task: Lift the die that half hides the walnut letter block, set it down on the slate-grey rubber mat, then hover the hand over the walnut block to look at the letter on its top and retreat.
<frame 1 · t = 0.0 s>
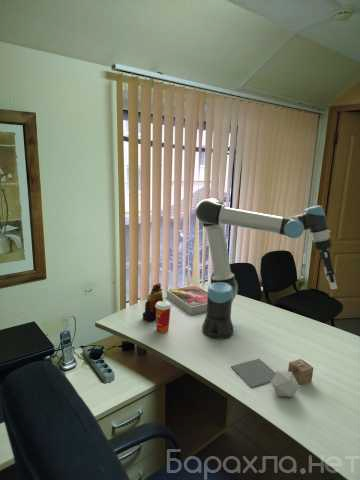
hand: (331, 284, 136), 28 cm above the table, tool tilted 20°, fingers open, 13 cm apart
letter block: (299, 379, 112), on the table
product packaging: (193, 303, 180), on the table
grey mat: (255, 372, 115), on the table
die: (283, 394, 104), on the table
paper cup: (162, 331, 144), on the table
statue: (151, 318, 156), on the table
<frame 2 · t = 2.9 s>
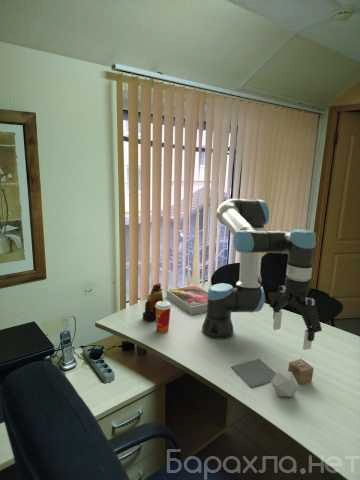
hand: (290, 338, 100), 21 cm above the table, tool pointing down, fingers open, 13 cm apart
nothing on the table moved.
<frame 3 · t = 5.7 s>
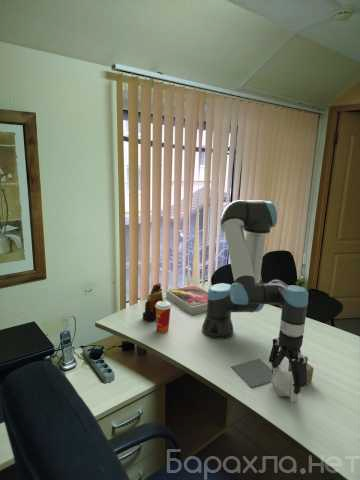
hand: (284, 391, 104), 1 cm above the table, tool pointing down, fingers closed on die, 8 cm apart
die: (283, 393, 104), on the table, touching gripper
everything else where it was.
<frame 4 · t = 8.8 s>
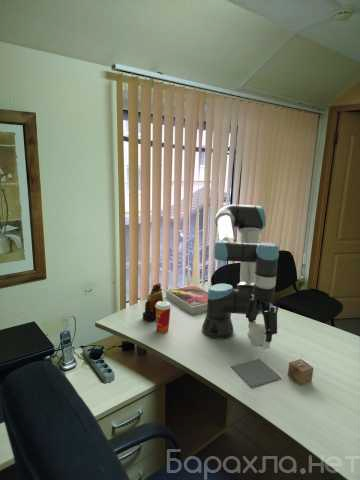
hand: (258, 342, 112), 13 cm above the table, tool pointing down, fingers closed on die, 8 cm apart
die: (258, 345, 113), point 12 cm above the table, touching gripper
everything else where it was.
when the fingers open (2 cm above the table, at t = 11.4 s): die stays where it is, resting on grey mat.
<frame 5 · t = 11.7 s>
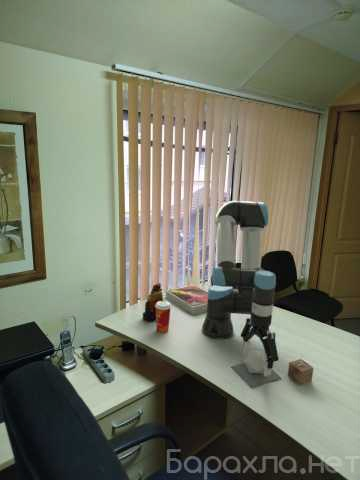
hand: (256, 365, 114), 3 cm above the table, tool pointing down, fingers open, 12 cm apart
die: (255, 371, 115), resting on grey mat
everything else where it was.
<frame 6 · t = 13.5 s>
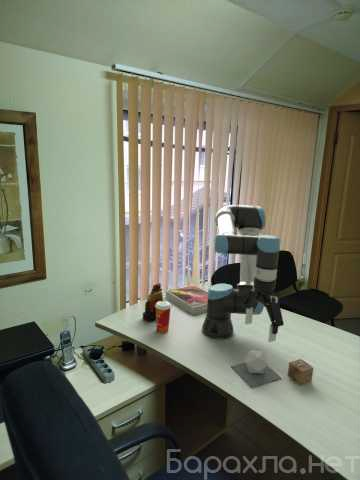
hand: (259, 331, 112), 17 cm above the table, tool pointing down, fingers open, 13 cm apart
nothing on the table moved.
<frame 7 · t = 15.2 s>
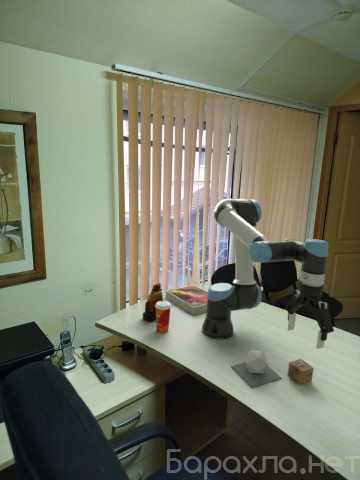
hand: (304, 338, 109), 17 cm above the table, tool pointing down, fingers open, 13 cm apart
nothing on the table moved.
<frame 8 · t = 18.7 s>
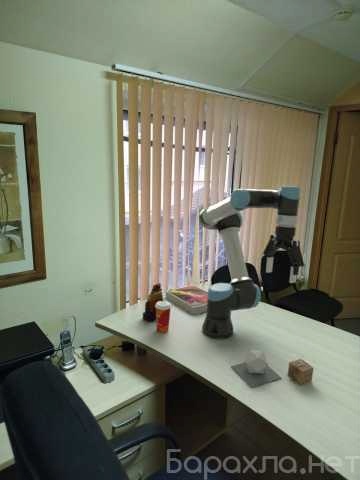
hand: (280, 277, 121), 35 cm above the table, tool pointing down, fingers open, 13 cm apart
nothing on the table moved.
at the end: die inside the target area on the grey mat (0.3 cm from its centre), point 0.3 cm above the grey mat's base; die tilted 2°; letter block moved 0.1 cm from its start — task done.
